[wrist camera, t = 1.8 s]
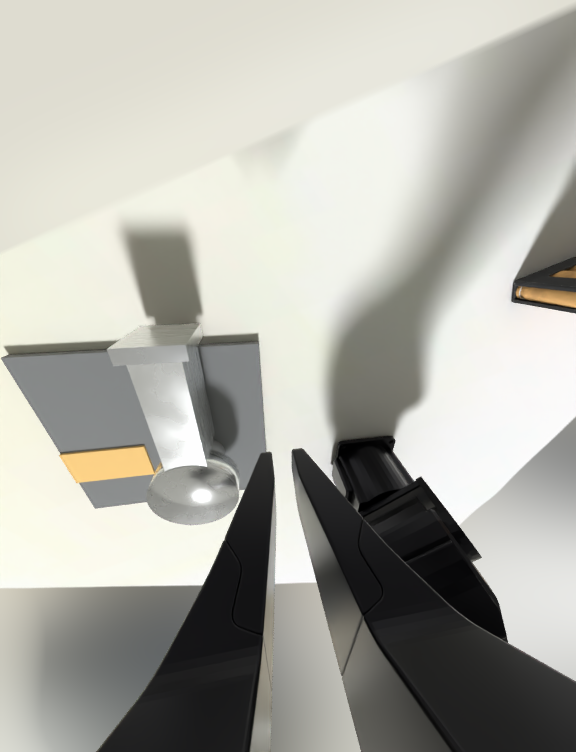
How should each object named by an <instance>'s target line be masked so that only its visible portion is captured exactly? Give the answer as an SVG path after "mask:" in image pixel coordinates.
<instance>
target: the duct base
mask: <svg viewBox="0 0 576 752" xmlns="http://www.w3.org/2000/svg"><path fill="white" fill-rule="evenodd" d="M198 351H199V356H200V361H201V366H202V371H203V376H204V381H205V386H206V391H207V396H208V401H209V406H210V411H211V417H212V422H213V427H214V432H215V433H214V438H213V444H212V449H213V450H216V451H219V452H221V453H224V454H225V455H227V456H228V457H230V458H231V459H232V460H233V461H234V462H235V463H236V465H237V467H238V469H239V473H240V481H239V490H244V489H246V486H247V484H248V482H249V479H250V477H251V475H252V472H253V470H254V467H255V465H256V463H257V460H258V458H259V456H260V454H261V453H262V452H266V443H265V429H264V415H263V400H262V386H261V371H260V357H259V343H258V341H255V342H236V343H218V344H199V345H198ZM1 359H2V361H3V362H4V364H5V366H6V367H7V369H8V370H9V372H10V374H11V375H12V377H13V378H14V380H15V382H16V383H17V385H18V386H19V388H20V390H21V391H22V393H23V394H24V396H25V398H26V399H27V401H28V402H29V404H30V406H31V407H32V409H33V410H34V412H35V413H36V415H37V417H38V418H39V420H40V421H41V423H42V425H43V426H44V428H45V429H46V431H47V433H48V434H49V436H50V437H51V439H52V441H53V442H54V444H55V445H56V447H57V449H58V450H59V452H60V453H61V454H60V455H59V456H60V458H61V459H62V461H63V462H64V464H65V465H66V467H67V469H68V470H69V472H70V473H71V475H72V476H73V478H74V480H75V481H76V483H79V484H80V485H81V487H82V488H83V490H84V492H85V493H86V495H87V496H88V498H89V500H90V501H91V503H92V504H93V506H94V508H103V507H111V506H119V505H127V504H134V503H142V502H147V499H146V495H147V490H148V488H149V485H150V483H151V481H152V478H153V476H154V474H155V471H156V469H157V467H158V465H159V464H160V462H161V460H160V457H159V454H158V451H157V449H156V446H155V443H154V440H153V438H152V435H151V432H150V429H149V426H148V424H147V421H146V418H145V415H144V413H143V410H142V407H141V404H140V402H139V399H138V396H137V393H136V391H135V388H134V385H133V382H132V380H131V377H130V374H129V371H128V368H127V366H126V365H123V366H113V364H112V362H111V359H110V356H109V354H108V351H107V350H88V351H70V352H51V353H32V354H14V355H7V356H4V357H2V358H1Z"/></svg>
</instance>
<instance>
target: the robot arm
mask: <svg viewBox="0 0 576 752" xmlns="http://www.w3.org/2000/svg"><path fill="white" fill-rule="evenodd" d="M394 444H395V439H394V438H393V437H392V436H386V437H377V438H367V439H358V440H349V441H341V442H339V443H338V445H337V453H336V458H335V459H334V462H333V471H332V477H333V481H334V483H335V485H336V486H335V485H334V484H333V483H332V482H331V480H330V479H329V478H328V477H327V476H326V475H325V474H324V472H323V471H322V470H321V469H320V468H319V467H318V466H317V464H316V463H315V462H314V461H313V460H312V459H311V457H310V456H309V455H308V454H307V453H306V452H305V451H304V449H302V448H299V449H293V450H292V472H293V479H294V486H295V493H296V500H297V506H298V512H299V516H300V520H301V524H302V527H303V531H304V535H305V539H306V543H307V547H308V550H309V554H310V558H311V562H312V566H313V569H314V573H315V577H316V581H317V584H318V588H319V592H320V596H321V600H322V604H323V608H324V611H325V615H326V619H327V622H328V627H329V630H330V634H331V638H332V642H333V646H334V650H335V653H336V657H337V661H338V665H339V669H340V672H341V675H342V676H343V677H342V680H343V684H344V688H345V691H346V695H347V699H348V703H349V707H350V711H351V715H352V718H353V722H354V726H355V730H356V734H357V737H358V741H359V745H360V749H361V752H576V681H574V680H572V679H570V678H569V677H567V676H565V675H563V674H562V673H560V672H558V671H556V670H554V669H553V668H551V667H549V666H547V665H546V664H544V663H542V662H540V661H538V660H537V659H535V658H533V657H531V656H530V655H528V654H526V653H525V652H523V651H521V650H519V649H517V648H516V647H514V646H512V645H510V644H509V643H508V640H507V636H506V631H505V627H504V623H503V619H502V615H501V610H500V606H499V603H498V600H497V598H496V596H495V595H494V593H493V592H492V590H491V588H490V587H489V585H488V584H487V582H486V581H485V580H484V578H483V577H482V576H481V574H480V573H479V571H478V570H477V568H476V567H475V566H474V564H473V563H472V562H473V561H476V560H478V559H480V558H482V557H481V556H480V554H479V553H478V551H477V550H476V549H475V547H474V546H473V544H472V543H471V542H470V541H469V539H468V538H467V536H466V535H465V533H464V532H463V531H462V529H461V528H460V527H459V525H458V524H457V523H456V521H455V520H454V519H453V518H452V516H451V515H450V514H449V512H448V511H447V510H446V508H445V507H444V506H443V504H442V503H441V502H440V501H439V499H438V498H437V497H436V495H435V494H434V493H433V492H432V490H431V489H430V488H429V486H428V485H427V484H426V482H425V481H424V480H423V479H422V477H419V478H417V479H416V481H414V480H413V479H412V478H411V476H410V475H409V473H408V472H407V471H406V469H405V468H404V466H403V465H402V463H401V462H400V461H399V459H398V458H397V456H396V455H395V454H394V452H393V448H394ZM275 551H276V498H275V478H274V468H273V460H272V453H271V452H262V453H261V454H260V456H259V458H258V460H257V463H256V465H255V467H254V470H253V472H252V475H251V477H250V479H249V482H248V484H247V486H246V489H245V491H244V494H243V496H242V498H241V501H240V503H239V505H238V508H237V510H236V513H235V515H234V517H233V520H232V522H231V524H230V527H229V529H228V531H227V534H226V536H225V540H224V541H223V543H222V545H221V548H220V550H219V552H218V555H217V557H216V559H215V561H214V564H213V566H212V568H211V570H210V572H209V574H208V576H207V578H206V580H205V582H204V584H203V586H202V588H201V590H200V592H199V594H198V596H197V598H196V600H195V601H194V603H193V605H192V607H191V609H190V611H189V612H188V614H187V616H186V618H185V620H184V622H183V624H182V625H181V627H180V629H179V631H178V633H177V635H176V636H175V638H174V640H173V642H172V644H171V646H170V647H169V649H168V651H167V653H166V655H165V657H164V658H163V660H162V662H161V664H160V665H159V667H158V669H157V671H156V672H155V674H154V675H153V677H152V679H151V680H150V682H149V683H148V685H147V686H146V688H145V690H144V691H143V692H142V694H141V695H140V696H139V698H138V699H137V700H136V702H135V703H134V705H133V706H132V707H131V708H130V710H129V711H128V712H127V714H126V715H125V716H124V717H123V718H122V720H121V721H120V722H119V724H118V725H117V726H116V727H115V729H114V730H113V731H112V732H111V734H110V735H109V736H108V737H107V739H106V740H105V741H104V743H103V744H102V745H101V746H100V748H99V749H98V750H97V751H96V752H271V712H272V693H271V692H272V672H273V670H272V669H273V631H274V630H273V629H274V591H275Z"/></svg>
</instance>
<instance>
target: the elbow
mask: <svg viewBox="0 0 576 752" xmlns="http://www.w3.org/2000/svg"><path fill="white" fill-rule="evenodd" d="M202 337H203V335H202V329H201V324H200V323H194V324H171V325H148V326H139V327H138V328H137V329H135V330H134V331H132V332H131V333H129V334H128V335H126V336H125V337H123V338H122V339H120V340H119V341H118V342H116V343H115V344H113V345H112V346H110V347H109V348H107V351H108V354H109V356H110V359H111V362H112V364H113V366H123V365H126V366H127V368H128V371H129V374H130V377H131V380H132V382H133V385H134V388H135V391H136V393H137V396H138V399H139V402H140V404H141V407H142V410H143V413H144V415H145V418H146V421H147V424H148V426H149V429H150V432H151V435H152V438H153V440H154V443H155V446H156V449H157V451H158V454H159V457H160V460H161V462H160V464H159V465H158V467H157V469H156V471H155V474H154V476H153V478H152V481H151V483H150V485H149V488H148V490H147V495H146V499H147V503H148V505H149V507H150V508H151V510H152V511H153V512H154V513H155V514H157V515H158V516H159V517H161V518H163V519H165V520H168V521H170V522H174V523H178V524H185V525H198V524H205V523H210V522H213V521H216V520H219V519H221V518H223V517H224V516H226V515H227V514H229V513H230V512H231V511H232V510H233V509H234V508H235V506H236V504H237V502H238V498H239V481H240V473H239V469H238V467H237V465H236V463H235V462H234V461H233V460H232V459H231V458H230V457H228V456H227V455H225V454H224V453H221V452H219V451H216V450H213V449H212V444H213V438H214V433H215V432H214V427H213V422H212V417H211V411H210V406H209V401H208V396H207V391H206V386H205V381H204V376H203V371H202V366H201V361H200V356H199V351H198V345H199V343H200V341H201V339H202Z"/></svg>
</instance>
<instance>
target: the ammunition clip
mask: <svg viewBox="0 0 576 752" xmlns="http://www.w3.org/2000/svg"><path fill="white" fill-rule="evenodd" d="M512 302H514V303H520V304H526V305H531V306H537V307H543V308H548V309H554V310H559V311H565V312H571V313H576V257H573V258H571V259H568V260H566V261H563V262H561V263H558V264H556V265H553V266H551V267H548V268H546V269H543V270H541V271H538V272H536V273H533V274H531V275H528V276H526V277H523V278H521V279H518V280H516V281H515V282H514V287H513V296H512Z"/></svg>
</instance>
